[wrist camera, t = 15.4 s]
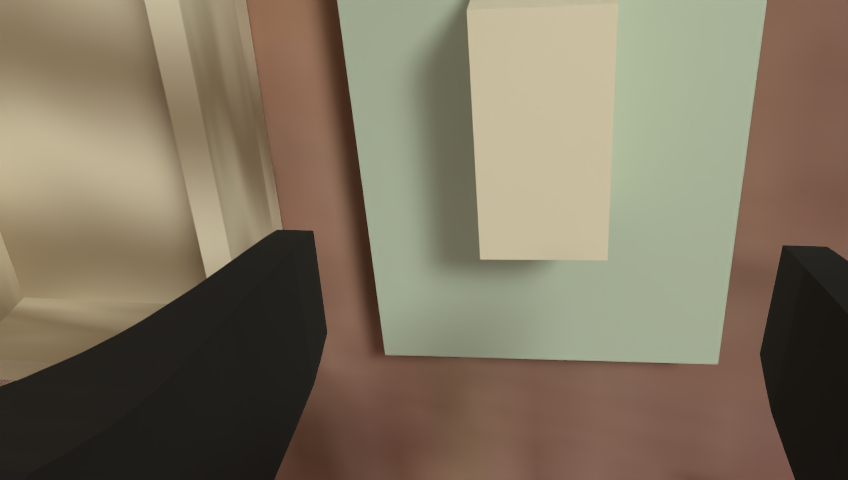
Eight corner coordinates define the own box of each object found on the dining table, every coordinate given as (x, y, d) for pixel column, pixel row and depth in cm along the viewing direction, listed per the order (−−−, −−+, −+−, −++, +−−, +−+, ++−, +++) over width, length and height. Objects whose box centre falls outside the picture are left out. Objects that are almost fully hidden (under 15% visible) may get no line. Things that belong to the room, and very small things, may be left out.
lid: (707, 323, 25) (736, 437, 21) (395, 316, 27) (365, 422, 23) (787, -336, 17) (864, -364, 12) (322, -286, 18) (250, -296, 14)
